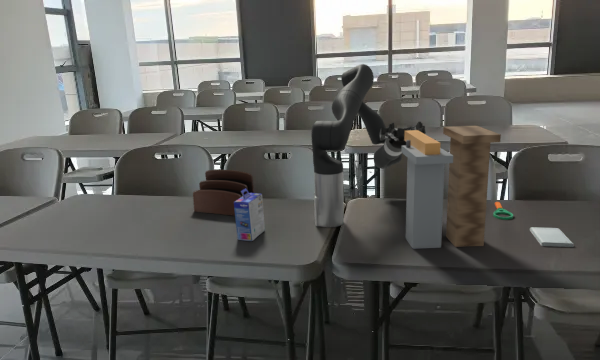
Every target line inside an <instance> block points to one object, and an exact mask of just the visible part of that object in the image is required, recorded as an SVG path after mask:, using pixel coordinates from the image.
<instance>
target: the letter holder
mask: <svg viewBox="0 0 600 360" xmlns="http://www.w3.org/2000/svg"><path fill="white" fill-rule="evenodd" d="M204 175H205V179H204V180H201V181H199V185H198V187H199V189H197V190H194V191H193V192H192V199H193V200H192V201H193V211H194V212H195V213H202V214H203V213H204V214H214V215H223V216H232V217H235V210H234V202H235V201H236V200H238V199H239V198H241V197H242V196H243V195H242V193H241V191H242V190H244V189H245V188H246V189H247V190H248V192H249V193H255V189H254V177H253V174H252V173H251V172H250V173H249V172H245V171H240V170H234V169H233V170H232V169H211V170H210V169H209V170H208V169H207V170H206V171H205V173H204ZM245 194H247V192H246V191H245V192H244V195H245Z"/></svg>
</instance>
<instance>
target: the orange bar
mask: <svg viewBox="0 0 600 360" xmlns="http://www.w3.org/2000/svg"><path fill="white" fill-rule="evenodd" d="M434 139H435V138H432V137H430V136H429V135H427V134H424V133H422V132H420V131H418V130H416V129H415V130H408V131H405V136H404V140H405V141H406V140H411V145H412V146H413V147H414V148H416V149H417V150H419V151H420V152H422V153H423V154H424V155H434V154H440V148H441V143H442V142H441V141H438V140H437V139H436V140H434Z"/></svg>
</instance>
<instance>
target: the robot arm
mask: <svg viewBox="0 0 600 360" xmlns="http://www.w3.org/2000/svg"><path fill="white" fill-rule="evenodd" d="M374 81H375V80H374V72H373V70H372V68H371V67H370V66H369V65H367V64H364V63H362V64H358V65H356V66H354V67H352V68H350V69H348V70H346V71H344V72H343V73H342V74H341V83H342V86H343V88H341V89H340V90H339V91H338V92H337V94H336V95H335V96H334V99H333V101H332V102H331V103H332V104H331V111H332V114H333V116H334V119H336V120H316V121H315V122H314V123H313V124H312V127H311V148H312V163H313V175H314V176H313V179H314V183H313V184H314V193H313V198H314V199H313V200H314V201H313V203H314V223H315V227H322V228H323V227H324V228H337V227H340V226H342V225H343V224H344V218H345V215H344V214H345V213H344V211H345V210H344V164H343V162H342V161H341V160H339V159H337V158H334V157H332V156H331V155H329V154H328V153H327V151H330V152H333V151H336V152H337V151H342V150H344V149H345V148H346V147H347V143H348V140H349V138H350V134H351V130H352V126H353V124H354V122H355V119H356V117H357V115H359V117H360V119H361V121H362V122H363V125H364V127H365V130H366V133H367V135H368V138H369V139H370V142H371V144H373V145H377V146H378V145H382V144H383V145H382V146H380V147H379V148H378V149H377V150H376V151H375V152H374V155H373V162H374V165H375V166H376V167H377V168H378V169H383V170H384V169H386V168H389V167H392V166H393V165H396V164H399V163H401V161H402V159H403V153H402V152H401V150H402V146H404V145H406V141H405V140H404V136H405V131H408V130H418V131H420V132H422V133H424V134H425V135H427V132H426V126H425V125H423V124H424V123H423V122H422V121H418V122H417V123H416V125H415V126H408V127H406V128H402V127H396V126H395V122H391V123H389V124H388V126H387V127H386V125H385V121H384V120H383V118H382V117H381V115H380V114H379V113H378V112H376V111H375V110H374V109H373V108H371V107H370V106H369V105H368V104H366V103H365V101H364V99H365V97H366V95H367V93H369V90H370V89H371V88H372V86H373V84H374Z"/></svg>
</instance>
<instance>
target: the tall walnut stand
mask: <svg viewBox="0 0 600 360" xmlns="http://www.w3.org/2000/svg"><path fill="white" fill-rule="evenodd" d="M442 132H443V135H445V136H446V137H449V138H450V143H449V153H450V154H452V155H453V163H448V186H447V205H446V207H447V208H446V209H447V210H446V225H445V226H446V229H445V230H446V231H445V237H446V238H447V239H448V240H449V242H450V243H451V244H452V245H453V246H454V247H456V248H457V247H458V248H460V247H484V244H485V231H486V230H485V229H486V215H487V214H486V213H487V200H488V185H489V174H490V173H489V172H490V171H489V170H490V156H491V144H492V143H501V138H502V135H501V134H500V133H498V132H495V131H493V130H489V129H486V128H484V127H481V126H479V125H460V126H459V125H458V126H457V125H455V126H443V131H442Z"/></svg>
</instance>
